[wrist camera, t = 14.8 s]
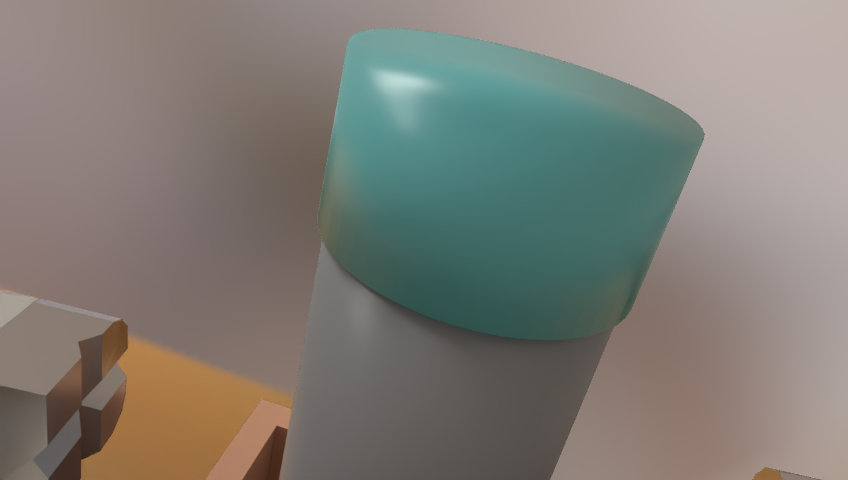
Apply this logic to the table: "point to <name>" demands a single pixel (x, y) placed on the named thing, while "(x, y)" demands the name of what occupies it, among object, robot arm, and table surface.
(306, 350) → the marker
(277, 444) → the pen cup
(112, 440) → the table surface
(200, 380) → the table surface
